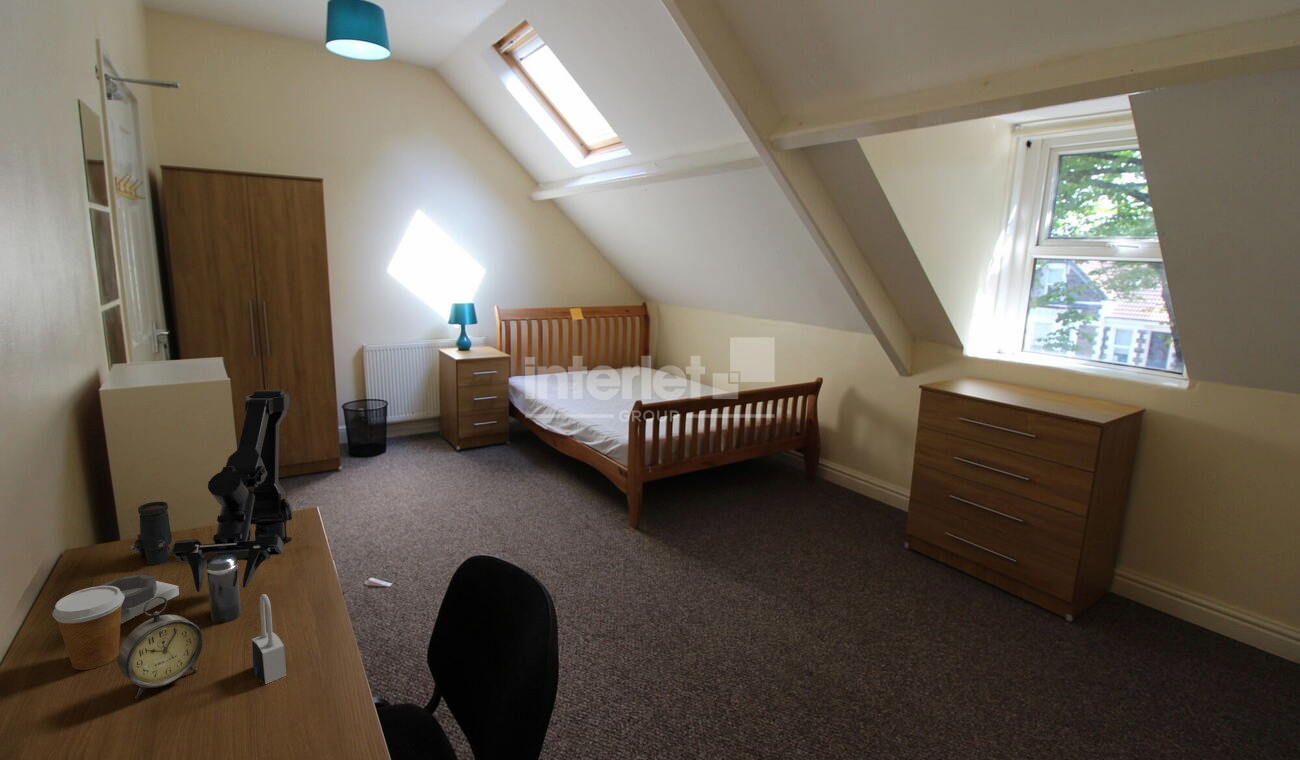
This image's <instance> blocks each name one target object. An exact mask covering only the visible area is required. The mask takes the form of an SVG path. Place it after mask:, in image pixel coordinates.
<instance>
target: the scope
mask: <svg viewBox="0 0 1300 760" xmlns="http://www.w3.org/2000/svg"><path fill="white" fill-rule="evenodd" d="M168 509H169V504H168V502H166V501H152V502H147V503H144V504H141V505H139V506H138V508H137V513H138V514H139V534H137V539H136V540H135V541H134V542H133V544H131V545H130V547H129V549H130V551H131V552H138V556H139V557H140V558H141V559H143V558H145V559H146V563H147V565H149V566H158V565H163V564H164V563H165V564H166V563H167V562H168V561H169V560H170V555H169V550H170V546H169V545H171V544H172V543H173V540H174V539H173V538H172V531H171V525H170V518H169V511H168Z"/></svg>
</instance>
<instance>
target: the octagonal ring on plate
mask: <svg viewBox="0 0 1300 760" xmlns="http://www.w3.org/2000/svg"><path fill="white" fill-rule="evenodd" d="M100 586H114V587H117V588H119V589H120V591H121V593H123V594H124V601H123V603H122V607H121V624H120V625H122V624H124V623H126V622H127V621H129V620H132V619H133V618H136V617H137V616H140V615H141V614H143V613H144V610H143V609H144V606H145V604H146V603H147V602H148V601H149V600H150V599H152V598H153V597H156V596H163V597H165V598H166V599H167V601H169V600H171V599H173V598H175V597H178V596H179V595H180V590H179V587H180V586H179V585H176V584H175V585H174V584H170V583H166V582H162V581H158V580H157V579H156V577H155V576H151V575H145V574H136V575H130V576H123V577H118V578H115V579H112V580H110V581H108V582H106V583H104V584H101V585H100ZM163 603H164V604H165V600H164V599H162V598H156V599H153V600H152V601H150V602H149V603H148V605H147V607H146V612H147V611H149V610H152V609H153V608H155V607H157V606H159V605H161V604H163ZM144 614H145V613H144ZM135 616H136V617H135Z"/></svg>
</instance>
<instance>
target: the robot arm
mask: <svg viewBox="0 0 1300 760" xmlns="http://www.w3.org/2000/svg"><path fill="white" fill-rule="evenodd" d="M290 400H291V399H290V395H289V394H286V393H285V390H284V389H256V390H255V391H254V392H253V394H249V395H246V396H245V407H244V408H245V409H244V410H245V414H244V420H243V424H242V429H241V432H240V437H239V441H238V446H237V449H236V450H235V451H234V452H233V453H232V454H230V455H229V457H228V458H227V461H226V464H225V466H223V467H222V470H221V471H220V472H217V473H216V474H215V475H213V476H212V477H211V479H210V480H209V481H208V483H207V489H208V491H209V493H211V496H213V498H214V499H215V501H216V502H217V503H218V505H220V506H221V508H220V513H219V515H217V519H216V521H217V522H218V523H217V527H216V533H215V534H213V538H212V541H213V542H214V543H205V544H204V543H201V542H200V541H199V540H198V539H197V538H196V539H195V538H193V539H182V540H181V539H180V540H176V541H175V542H174V543H173V544H172V545H171V546H172V547H171V550H170V554H171V555H172V556H173V557H174V558H175V559H176V560H177V561H178V562H180V563H187V564H188V565H189V566H190V569H191V572H192V577H193V581H194V586H195V591H196V592H197V593H200V592H201V590H202V589H203V588H202V586H203V584H204V583H203V582H204V575H205V573H204V572H205V567H206V566H207V561H206V559H204V557H205V555H207V554H208V555H210V554H211V555H212V554H215V556H217V555H221V554H235V555H236V556H237V561H244V562H245V561H246V564H245V569H244V573H243V578H242V588H244V589H245V588H247V587H248V585H249V583H250V582H251V580H252V578H253V577H254V575H255V573H256V571H257V570H258V568H259V567H260V566H261V564H262V563H263V562H265V561H266V560H271V558H272V557H273V556H280V555H281V556H282V554H283V552H284V544H285V543H288V542H290V541H292V540H293V537H291V536H290V537H289V536H288V535H287V534H288V533H287V523H288V522H289V521H291V520H293V510H292V508H293V507H292V505H291V504H290V502H289V500H288V498H287V495H286V491H285V489H284V488H283V487H282V485H281V484H280V482H279V470H280V466H279V465H280V464H279V463H280V424H281V423H282V422H283V420H284V419H285V418H286V416H287V414H288V409H289V407H290ZM249 488H253V489H252V490H250V489H249ZM252 525H255V530H254V539H255V540H254V539H253V535H252ZM291 539H292V540H291ZM289 540H290V541H289ZM287 541H288V542H287Z"/></svg>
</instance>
